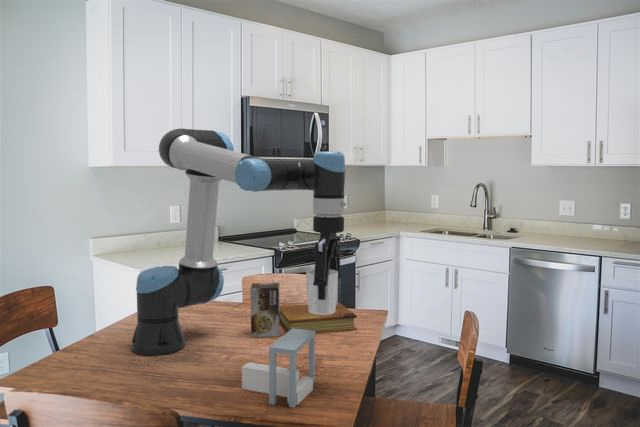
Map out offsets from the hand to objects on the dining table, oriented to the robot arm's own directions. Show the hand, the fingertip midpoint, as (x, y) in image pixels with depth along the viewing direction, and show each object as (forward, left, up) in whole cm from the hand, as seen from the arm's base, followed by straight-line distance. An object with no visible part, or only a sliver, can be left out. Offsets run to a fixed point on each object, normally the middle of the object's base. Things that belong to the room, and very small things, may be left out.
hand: (327, 308), depth 131 cm
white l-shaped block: (-10, -9, -19) cm, 23 cm away
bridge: (-6, -8, -19) cm, 21 cm away
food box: (-30, +32, -19) cm, 48 cm away
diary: (-18, +47, -20) cm, 54 cm away
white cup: (-1, 0, -1) cm, 2 cm away
